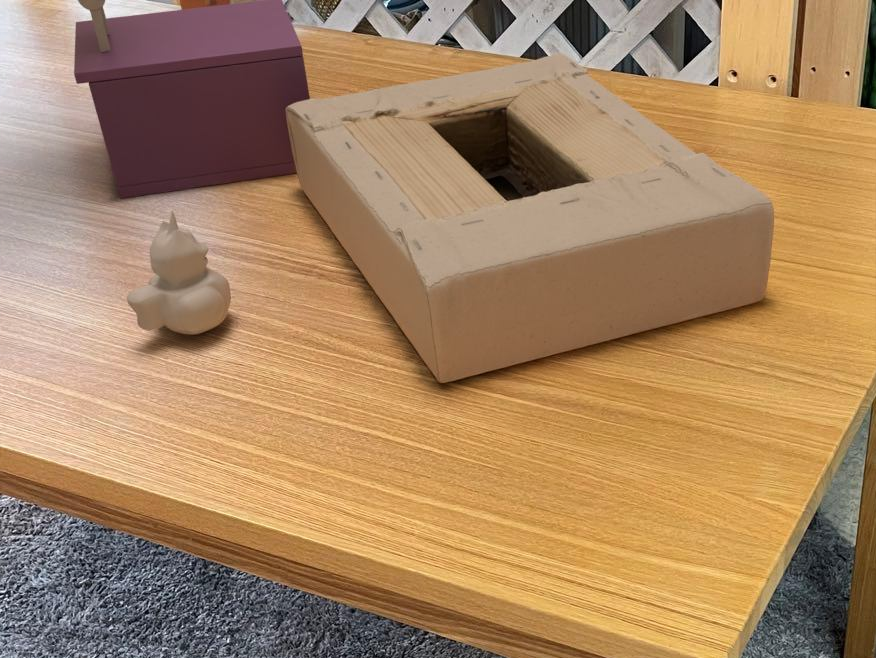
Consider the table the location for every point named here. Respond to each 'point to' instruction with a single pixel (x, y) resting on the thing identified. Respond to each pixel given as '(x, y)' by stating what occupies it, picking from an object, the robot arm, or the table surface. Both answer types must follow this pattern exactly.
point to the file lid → (181, 39)
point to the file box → (199, 125)
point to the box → (526, 213)
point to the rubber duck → (180, 285)
